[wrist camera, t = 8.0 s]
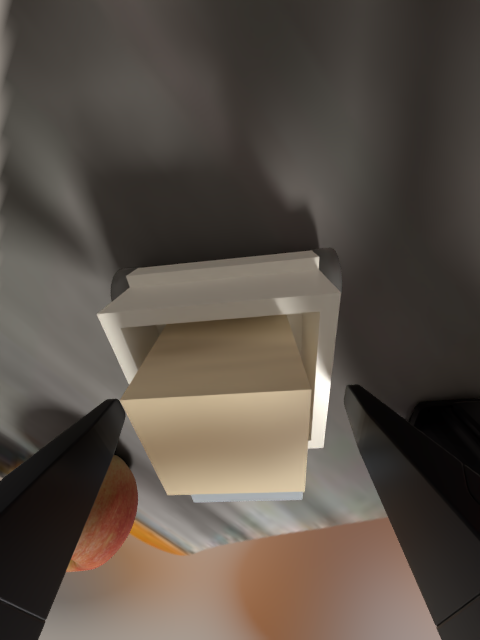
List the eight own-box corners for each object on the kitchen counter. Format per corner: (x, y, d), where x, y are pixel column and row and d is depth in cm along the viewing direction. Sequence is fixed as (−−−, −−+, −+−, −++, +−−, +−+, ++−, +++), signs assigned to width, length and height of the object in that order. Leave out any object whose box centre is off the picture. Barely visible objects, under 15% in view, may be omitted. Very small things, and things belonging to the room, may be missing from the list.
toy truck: (311, 416, 18) (337, 505, 13) (186, 423, 18) (164, 509, 13) (322, 242, 11) (382, 279, 6) (133, 261, 12) (53, 309, 7)
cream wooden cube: (284, 387, 12) (304, 491, 8) (194, 392, 13) (167, 494, 8) (283, 304, 10) (311, 389, 6) (172, 313, 10) (119, 400, 6)
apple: (149, 441, 20) (96, 578, 13) (153, 488, 23) (113, 613, 16) (53, 430, 19) (-57, 565, 12) (73, 480, 23) (-2, 605, 16)
